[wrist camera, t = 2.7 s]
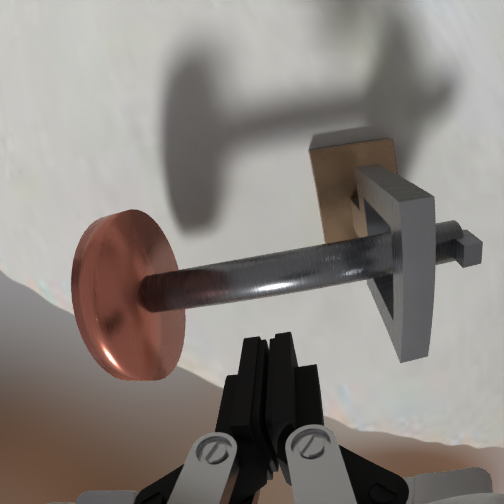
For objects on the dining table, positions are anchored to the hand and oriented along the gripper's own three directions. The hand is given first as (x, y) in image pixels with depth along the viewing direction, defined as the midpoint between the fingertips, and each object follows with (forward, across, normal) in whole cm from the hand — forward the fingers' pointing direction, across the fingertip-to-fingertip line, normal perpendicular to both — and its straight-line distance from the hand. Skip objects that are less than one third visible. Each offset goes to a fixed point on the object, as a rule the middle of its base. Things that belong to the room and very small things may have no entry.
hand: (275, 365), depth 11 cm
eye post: (+14, -6, -1) cm, 16 cm away
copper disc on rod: (+11, 0, -1) cm, 11 cm away
